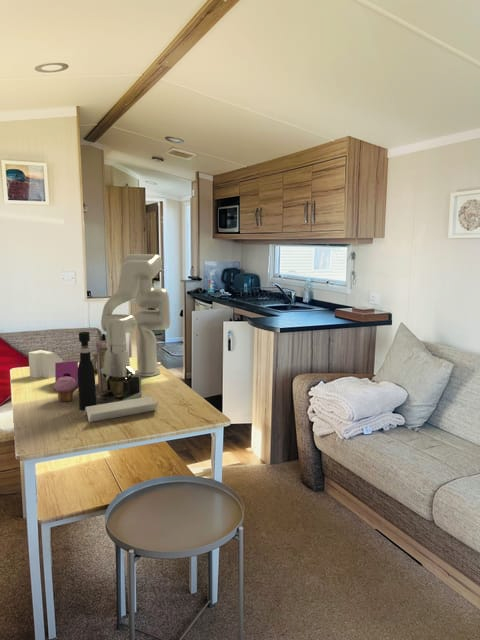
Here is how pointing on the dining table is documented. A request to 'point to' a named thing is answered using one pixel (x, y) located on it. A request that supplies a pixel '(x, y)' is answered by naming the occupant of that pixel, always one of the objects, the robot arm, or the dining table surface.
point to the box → (101, 365)
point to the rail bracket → (131, 394)
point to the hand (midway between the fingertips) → (118, 390)
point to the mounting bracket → (67, 370)
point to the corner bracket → (43, 363)
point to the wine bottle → (86, 375)
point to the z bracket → (120, 408)
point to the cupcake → (65, 388)
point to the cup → (117, 386)
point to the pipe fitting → (95, 361)
